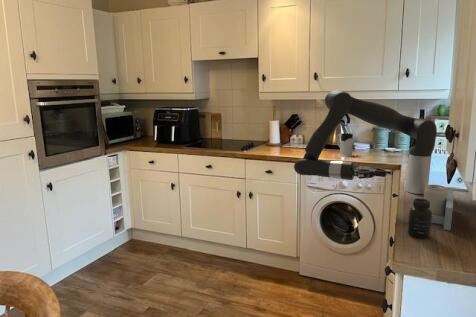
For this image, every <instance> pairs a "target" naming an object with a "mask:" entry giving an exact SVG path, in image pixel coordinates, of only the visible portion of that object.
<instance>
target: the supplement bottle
mask: <svg viewBox="0 0 476 317" xmlns="http://www.w3.org/2000/svg"><path fill="white" fill-rule="evenodd" d="M412 202H413V203H412V207H410V208H409V210H408V211H409V212H408V222H407V235H409V236H410V237H412V238H414V239H418V240H428V239H429V238H430V237H431V231H432V224H433V223H432V211H431V210H430V209H429V208H430V201H429V200H426V199H424V198H415V199H413V201H412Z"/></svg>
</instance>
